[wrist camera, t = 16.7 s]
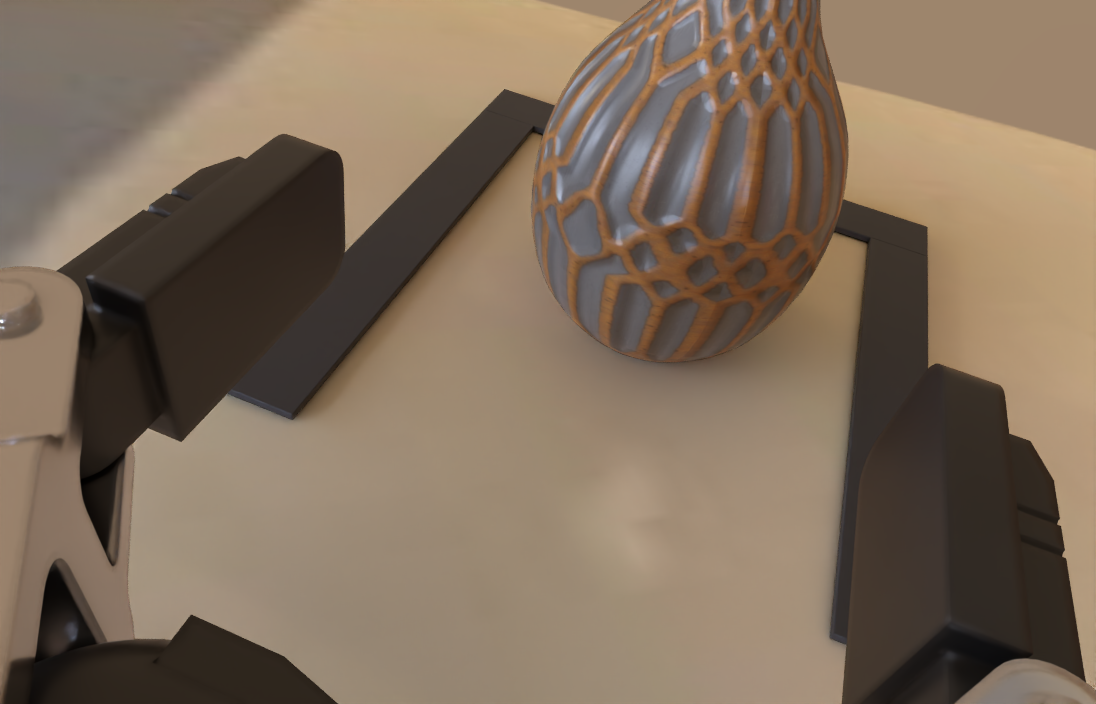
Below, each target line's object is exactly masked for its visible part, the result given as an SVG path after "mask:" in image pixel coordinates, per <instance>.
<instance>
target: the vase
mask: <svg viewBox="0 0 1096 704" xmlns="http://www.w3.org/2000/svg"><path fill="white" fill-rule="evenodd" d="M847 169H848V132H847V125H846V119H845V114H844V110H843V106H842V102H841V98H840V95H839V91H838V88H837V84H836V81H835V77H834V74H833V70H832V67H831V64H830V60H829V57H828V54H827V51H826V47H825V43H824V40H823V36H822V27H821V18H820V0H651V1H649V2H648V3H647V4H646V5H645V6H643V7H642V8H641V9H640V10H638V11H637V12H636V13H635V14H633V15H632V16H631V17H630V18H629V19H628V20H626V21H625V22H624V23H623V24H622V25H620V26H619V27H618V28H617V29H616V30H614V31H613V32H612V33H611V34H610V35H609V36H607V37H606V38H605V39H604V40H603V41H602V42H601V43H600V44H599V45H597V46H596V47H595V48H594V49H593V50H592V51H591V53H590V54H589V55H588V56H587V57H586V58H585V59H584V60H583V61H582V63H581V64H580V65H579V67H578V68H577V69H576V71H575V72H574V74H573V75H572V77H571V78H570V80H569V82H568V83H567V85H566V86H565V88H564V90H563V91H562V93H561V95H560V97H559V99H558V101H557V103H556V105H555V107H554V109H553V112H552V114H551V116H550V118H549V121H548V123H547V125H546V128H545V131H544V134H543V137H542V140H541V143H540V147H539V151H538V156H537V160H536V165H535V173H534V180H533V189H532V204H531V216H532V228H533V237H534V242H535V247H536V253H537V257H538V261H539V264H540V267H541V270H542V272H543V275H544V278H545V280H546V283H547V285H548V287H549V289H550V290H551V292H552V293H553V295H554V297H555V298H556V300H557V301H558V302H559V304H560V305H561V307H562V308H563V310H564V311H565V312H566V313H567V314H568V316H569V317H570V318H571V319H572V320H573V321H574V322H575V323H576V324H578V325H579V326H580V327H581V328H582V329H583V330H584V331H585V332H587V333H588V334H589V335H590V336H592V337H593V338H594V339H596V340H597V341H599V342H600V343H602V344H603V345H605V346H607V347H609V348H611V349H613V350H615V351H617V352H619V353H622V354H624V355H627V356H630V357H634V358H637V359H642V360H647V361H655V362H682V361H692V360H699V359H705V358H709V357H712V356H715V355H718V354H721V353H724V352H727V351H729V350H732V349H734V348H737V347H739V346H741V345H743V344H744V343H746V342H747V341H749V340H750V339H752V338H753V337H755V336H756V335H758V334H759V333H761V332H762V331H763V330H765V329H766V328H767V327H768V326H769V325H770V324H772V323H773V322H774V321H775V320H776V319H777V318H778V317H779V316H780V315H781V314H782V313H783V312H784V311H785V310H786V309H787V308H788V307H789V306H790V305H791V303H792V302H793V301H794V300H795V299H796V298H797V297H798V295H799V294H800V293H801V291H802V290H803V288H804V287H805V285H806V284H807V282H808V281H809V279H810V278H811V276H812V275H813V273H814V271H815V269H816V267H817V266H818V264H819V262H820V260H821V258H822V256H823V255H824V253H825V251H826V249H827V246H828V244H829V242H830V240H831V238H832V235H833V233H834V230H835V227H836V224H837V221H838V217H839V214H840V211H841V206H842V201H843V197H844V191H845V185H846V178H847Z"/></svg>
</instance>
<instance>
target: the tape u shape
mask: <svg viewBox="0 0 1096 704" xmlns="http://www.w3.org/2000/svg"><path fill="white" fill-rule="evenodd" d="M554 107H555V105H552V104H549V103H546V102H543V101H540V100H536V99H533V98H530V97H527V96H524V95H521V94H518V93H515V92H512V91H509V90H506V89H504V90H503V91H502V92H501V93H500V94H499V95H498V96H497V97H496V98H495V99H494V101H493V102H492V103H491V104H490V105H489V106H488V107H487V108H486V109H485V110H484V111H483V112H482V113H481V114H480V115H479V116H478V117H477V118H476V119H475V120H474V121H473V122H472V123H471V124H470V125H469V126H468V127H467V128H466V129H465V130H464V131H463V132H462V133H461V134H460V135H459V136H458V137H457V138H456V139H455V140H454V141H453V142H452V143H451V145H450V146H449V147H448V148H447V149H446V150H445V151H444V152H443V153H442V154H441V155H440V156H439V157H438V158H437V159H436V160H435V161H434V162H433V163H432V164H431V165H430V166H429V167H428V168H427V169H426V170H425V171H424V172H423V173H422V174H421V175H420V176H419V177H418V178H417V179H416V180H415V181H414V182H413V183H412V184H411V185H410V186H409V188H408V189H407V190H406V191H405V192H404V193H403V194H402V195H401V196H400V197H399V198H398V199H397V200H396V201H395V202H394V203H393V204H392V205H391V206H390V207H389V208H388V209H387V210H386V211H385V212H384V213H383V214H382V215H381V216H380V217H379V218H378V219H377V220H376V221H375V222H374V223H373V224H372V225H371V226H370V227H369V228H368V229H367V230H366V232H365V233H364V234H363V235H362V236H361V237H360V238H359V239H358V240H357V241H356V242H355V243H354V244H353V245H352V246H351V247H350V248H349V249H348V250H347V251H346V252H345V253H344V256H343V260H342V263H341V266H340V269H339V271H338V273H337V275H336V277H335V278H334V280H333V281H332V283H331V284H330V285H329V287H328V288H327V289H326V290H325V291H324V292H323V293H322V294H321V295H320V296H319V297H318V298H317V299H316V300H315V301H314V302H313V304H312V305H311V306H310V307H309V308H308V309H307V310H306V311H305V312H304V313H303V314H302V315H301V316H300V317H299V318H298V319H297V320H296V321H295V323H294V324H293V325H292V326H291V327H290V328H289V329H288V330H287V331H286V332H285V333H284V334H283V335H282V336H281V337H280V338H279V339H278V340H277V342H276V343H275V344H274V345H273V346H272V347H271V348H270V349H269V350H268V351H267V352H266V353H265V354H264V355H263V356H262V357H261V358H260V359H259V361H258V362H257V363H256V364H255V365H254V366H253V367H252V368H251V369H250V370H249V371H248V372H247V373H246V374H245V375H244V376H243V377H242V378H241V380H240V381H239V382H238V383H237V384H236V385H235V386H234V387H233V388H232V389H231V390H230V391H229V392H228V394H230V395H232V396H235V397H237V398H240V399H242V400H245V401H247V402H250V403H252V404H255V405H257V406H260V407H262V408H264V409H267V410H269V411H272V412H274V413H277V414H279V415H282V416H284V417H287V418H289V419H292V420H293V419H294V418H295V417H296V415H297V414H298V413H299V412H300V411H301V409H302V408H303V407H304V406H305V405H306V403H307V402H308V401H309V400H310V399H311V397H312V396H313V395H314V394H315V393H316V391H317V390H318V389H319V388H320V387H321V385H322V384H323V383H324V382H325V381H326V379H327V378H328V377H329V376H330V375H331V373H332V372H333V371H334V370H335V368H336V367H337V366H338V365H339V364H340V362H341V361H342V360H343V359H344V358H345V356H346V355H347V354H348V353H349V352H350V350H351V349H352V348H353V347H354V346H355V344H356V343H357V342H358V341H359V340H360V338H361V337H362V336H363V335H364V334H365V332H366V331H367V330H368V329H369V328H370V326H371V325H372V324H373V323H374V322H375V320H376V319H377V318H378V317H379V316H380V314H381V313H382V312H383V311H384V309H385V308H386V307H387V306H388V305H389V303H390V302H391V301H392V300H393V299H394V297H395V296H396V295H397V294H398V293H399V291H400V290H401V289H402V288H403V287H404V285H405V284H406V283H407V282H408V281H409V279H410V278H411V277H412V276H413V275H414V273H415V272H416V271H417V270H418V269H419V267H420V266H421V265H422V264H423V263H424V261H425V260H426V259H427V258H428V257H429V255H430V254H431V253H432V252H433V251H434V249H435V248H436V247H437V246H438V244H439V243H440V242H441V241H442V240H443V238H444V237H445V236H446V235H447V234H448V232H449V231H450V230H451V229H452V228H453V226H454V225H455V224H456V223H457V222H458V220H459V219H460V218H461V217H462V216H463V214H464V213H465V212H466V211H467V210H468V208H469V207H470V206H471V205H472V204H473V202H474V201H475V200H476V199H477V198H478V196H479V195H480V194H481V193H482V192H483V190H484V189H485V188H486V187H487V185H488V184H489V183H490V182H491V181H492V179H493V178H494V177H495V176H496V175H497V173H498V172H499V171H500V170H501V169H502V167H503V166H504V165H505V164H506V163H507V161H508V160H509V159H510V158H511V157H512V155H513V154H514V153H515V152H516V151H517V149H518V148H519V147H520V146H521V145H522V143H523V142H524V141H525V140H526V139H527V137H528V136H529V135H530V134H531V133H532V131H535V132H538V133H541V134H544V131H545V128H546V125H547V123H548V121H549V118H550V116H551V114H552V112H553V109H554ZM834 231H836V232H839V233H842V234H845V235H848V236H851V237H854V238H857V239H860V240H863V241H866V242H868V249H867V260H866V270H865V280H864V291H863V301H862V311H861V322H860V332H859V342H858V352H857V363H856V373H855V383H854V394H853V404H852V414H851V425H850V435H849V445H848V456H847V466H846V476H845V487H844V497H843V507H842V517H841V528H840V538H839V548H838V559H837V569H836V579H835V590H834V600H833V610H832V621H831V631H830V638H831V639H834V640H836V641H838V642H841V643H843V644H847V632H848V619H849V606H850V593H851V581H852V568H853V555H854V542H855V529H856V517H857V504H858V491H859V483H860V478H861V474H862V470H863V467H864V464H865V462H866V459H867V457H868V454H869V452H870V450H871V448H872V446H873V445H874V443H875V441H876V440H877V438H878V437H879V435H880V434H881V433H882V431H883V430H884V428H885V427H886V426H887V424H888V423H889V422H890V420H891V419H892V417H893V416H894V415H895V413H896V412H897V410H898V409H899V408H900V406H901V405H902V403H903V402H904V401H905V399H906V398H907V396H908V395H909V394H910V392H911V391H912V389H913V388H914V387H915V385H916V384H917V382H918V381H919V380H920V378H921V377H922V375H923V374H924V373H925V372H926V371H927V370H928V257H927V256H928V255H927V227H926V226H923V225H920V224H917V223H914V222H911V221H908V220H904V219H901V218H898V217H895V216H892V215H889V214H886V213H883V212H880V211H877V210H874V209H871V208H868V207H865V206H862V205H858V204H855V203H852V202H849V201H846V200H843V201H842V206H841V211H840V214H839V217H838V221H837V224H836V227H835V230H834Z"/></svg>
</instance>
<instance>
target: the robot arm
mask: <svg viewBox="0 0 1096 704" xmlns="http://www.w3.org/2000/svg"><path fill="white" fill-rule="evenodd" d="M344 251H345V213H344V172H343V163H342V159H341V157H340V155H339V154H338V153H337V152H336V151H333V150H330V149H328V148H325V147H322V146H319V145H316V144H313V143H310V142H308V141H305V140H302V139H299V138H296V137H293V136H290V135H287V134H281V135H278V136H277V137H275V138H273V139H272V140H271V141H269V142H268V143H267V144H265V145H264V146H263V147H261V148H260V149H259V150H257V151H256V152H254V153H253V154H252V155H250V156H249V157H248V158H246V159H244V158H241V157H236V158H233V159H230V160H227V161H224V162H221V163H218V164H215V165H212V166H209V167H206V168H203V169H200V170H199V171H198V172H196V173H195V174H193V175H192V176H190V177H189V178H188V179H186V180H185V181H183V182H182V183H181V184H179V185H178V186H176V187H175V188H173V189H172V193H171V195H170V194H167V193H166V194H165V195H164V196H162V197H161V198H159V199H158V200H156V201H155V202H154V203H152V204H151V205H149V209H148V211H145V210H142V211H141V212H139V213H138V214H137V215H135V216H134V217H132V218H131V219H130V220H128V221H127V222H125V223H124V224H122V225H121V226H120V227H118V228H117V229H115V230H114V231H113V232H111V233H110V234H108V235H107V236H105V237H104V238H103V239H101V240H100V241H98V242H97V243H96V244H94V245H93V246H91V247H90V248H88V249H87V250H86V251H84V252H83V253H81V254H80V255H79V256H77V257H76V258H74V259H73V260H71V261H70V262H69V263H67V264H66V265H64V266H63V267H62V268H60V269H59V270H57V271H54V270H50V269H45V268H39V267H10V268H2V269H0V704H338V703H336V702H335V701H334V700H333V699H332V698H331V697H330V696H328V695H327V694H326V693H325V692H324V691H323V690H322V689H320V688H319V687H318V686H317V685H316V684H315V683H314V682H312V681H311V680H310V679H309V678H308V677H307V676H306V675H305V674H303V673H302V672H301V671H300V670H299V669H298V668H297V667H295V666H294V665H293V664H292V663H291V662H290V661H289V660H287V659H286V658H285V657H284V656H282V655H279V654H277V653H275V652H273V651H271V650H268V649H266V648H264V647H262V646H260V645H257V644H255V643H253V642H251V641H249V640H246V639H244V638H242V637H240V636H237V635H235V634H233V633H231V632H229V631H226V630H224V629H222V628H220V627H218V626H215V625H213V624H211V623H209V622H207V621H204V620H202V619H200V618H198V617H196V616H193V615H190V617H189V618H188V619H187V621H186V622H185V623H184V625H183V626H182V627H181V628H180V630H179V631H178V632H177V634H176V635H175V636H174V638H173V639H172V640H165V639H135V638H134V626H133V619H132V613H131V608H130V602H129V593H128V568H129V550H130V533H131V516H132V498H133V481H134V463H135V456H134V450H133V447H132V443H133V442H134V441H135V440H136V439H137V438H138V437H139V436H140V435H141V434H142V433H143V432H144V431H145V430H146V429H147V428H149V429H152V430H154V431H156V432H159V433H161V434H164V435H166V436H168V437H171V438H173V439H176V440H178V441H180V442H182V441H183V440H184V439H185V438H186V436H187V435H188V434H189V433H190V432H191V431H192V430H193V429H194V428H195V427H196V426H197V425H198V424H199V423H200V422H201V421H202V420H203V419H204V417H205V416H206V415H207V414H208V413H209V412H210V411H211V410H212V409H213V408H214V407H215V406H216V405H217V404H218V403H219V402H220V401H221V400H222V398H223V397H224V396H225V395H226V394H227V393H228V392H229V391H230V390H231V389H232V388H233V387H234V386H235V385H236V384H237V383H238V382H239V381H240V380H241V378H242V377H243V376H244V375H245V374H246V373H247V372H248V371H249V370H250V369H251V368H252V367H253V366H254V365H255V364H256V363H257V362H258V361H259V359H260V358H261V357H262V356H263V355H264V354H265V353H266V352H267V351H268V350H269V349H270V348H271V347H272V346H273V345H274V344H275V343H276V342H277V340H278V339H279V338H280V337H281V336H282V335H283V334H284V333H285V332H286V331H287V330H288V329H289V328H290V327H291V326H292V325H293V324H294V323H295V321H296V320H297V319H298V318H299V317H300V316H301V315H302V314H303V313H304V312H305V311H306V310H307V309H308V308H309V307H310V306H311V305H312V304H313V302H314V301H315V300H316V299H317V298H318V297H319V296H320V295H321V294H322V293H323V292H324V291H325V290H326V289H327V288H328V287H329V285H330V284H331V283H332V281H333V280H334V278H335V277H336V275H337V273H338V271H339V269H340V266H341V263H342V260H343V256H344ZM1059 519H1060V517H1059V511H1058V504H1057V498H1056V492H1055V485H1054V480H1053V478H1052V477H1051V475H1050V473H1049V472H1048V470H1047V468H1046V467H1045V465H1044V463H1043V462H1042V460H1041V458H1040V456H1039V455H1038V453H1037V451H1036V450H1035V448H1034V446H1033V445H1032V443H1031V441H1028V440H1026V439H1023V438H1020V437H1017V436H1014V435H1012V434H1009V428H1008V419H1007V410H1006V401H1005V394H1004V390H1003V388H1002V387H1001V386H1000V385H998V384H995V383H992V382H989V381H986V380H984V379H981V378H978V377H975V376H972V375H969V374H966V373H964V372H961V371H958V370H955V369H952V368H949V367H946V366H944V365H941V364H934V365H932V366H931V367H930V368H929V369H928V370H927V371H926V372H925V373H924V374H923V375H922V377H921V378H920V380H919V381H918V382H917V384H916V385H915V387H914V388H913V389H912V391H911V392H910V394H909V395H908V396H907V398H906V399H905V401H904V402H903V403H902V405H901V406H900V408H899V409H898V410H897V412H896V413H895V415H894V416H893V417H892V419H891V420H890V422H889V423H888V424H887V426H886V427H885V428H884V430H883V431H882V433H881V434H880V435H879V437H878V438H877V440H876V441H875V443H874V445H873V446H872V448H871V450H870V452H869V454H868V457H867V459H866V462H865V464H864V467H863V470H862V474H861V478H860V483H859V491H858V504H857V517H856V529H855V542H854V555H853V568H852V581H851V593H850V606H849V619H848V632H847V644H846V657H845V670H844V683H843V696H842V704H1096V690H1095V689H1093V688H1092V687H1091V686H1090V685H1088V684H1087V683H1086V680H1085V675H1084V668H1083V662H1082V656H1081V650H1080V643H1079V637H1078V631H1077V624H1076V618H1075V612H1074V605H1073V599H1072V593H1071V586H1070V580H1069V574H1068V567H1067V561H1066V558H1063V557H1062V554H1063V552H1064V551H1065V548H1064V542H1063V536H1062V529H1061V526H1059V525H1057V523H1058V520H1059Z"/></svg>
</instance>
